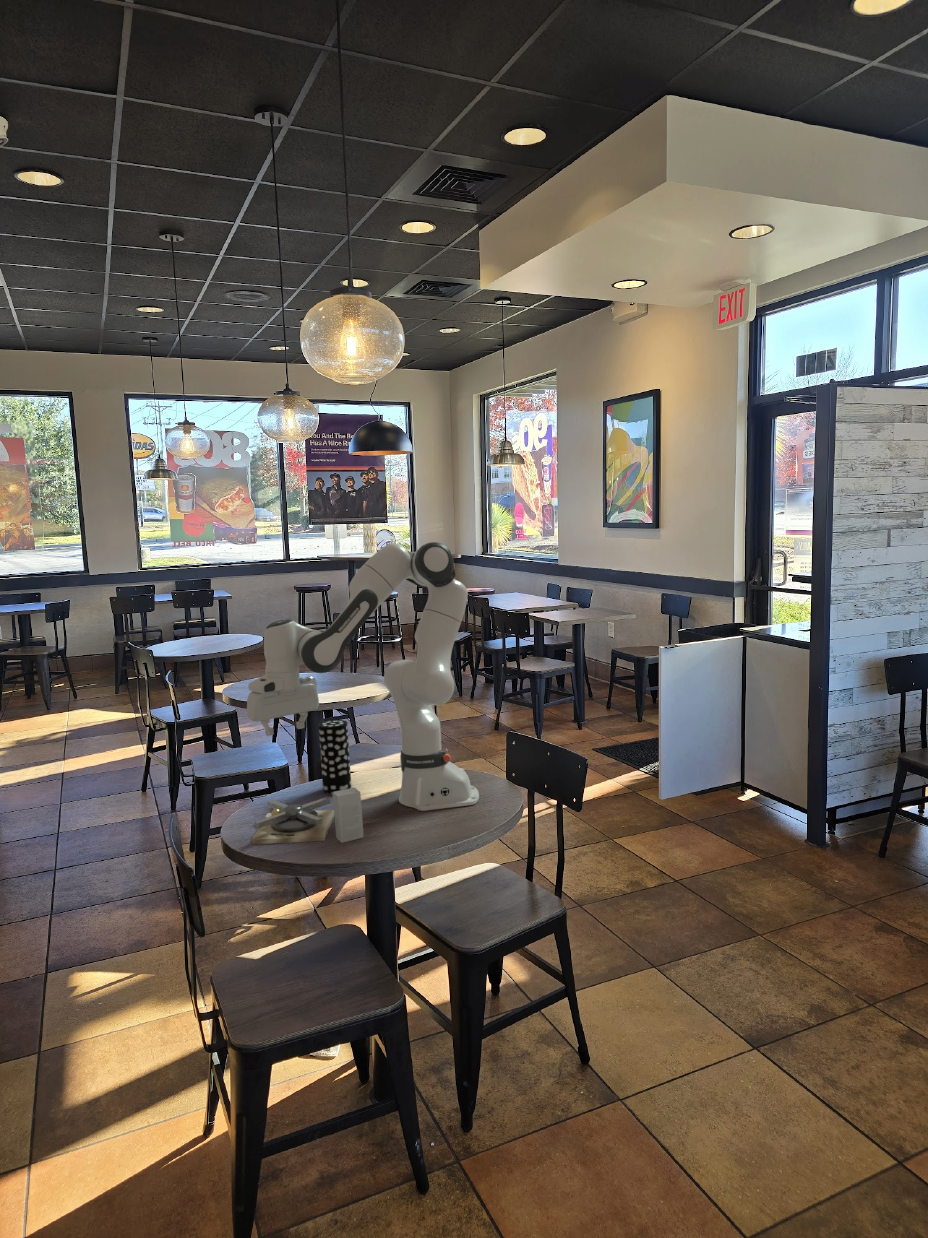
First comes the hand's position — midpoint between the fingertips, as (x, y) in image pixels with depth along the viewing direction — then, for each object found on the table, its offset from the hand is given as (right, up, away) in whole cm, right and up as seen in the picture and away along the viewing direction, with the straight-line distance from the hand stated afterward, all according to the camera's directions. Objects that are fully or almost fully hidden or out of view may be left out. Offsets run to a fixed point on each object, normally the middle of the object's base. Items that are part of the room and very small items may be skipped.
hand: (285, 731), depth 214 cm
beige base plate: (+4, -24, -8) cm, 25 cm away
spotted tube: (+11, -20, +21) cm, 31 cm away
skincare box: (+19, -25, -15) cm, 35 cm away
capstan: (+4, -23, -8) cm, 24 cm away
